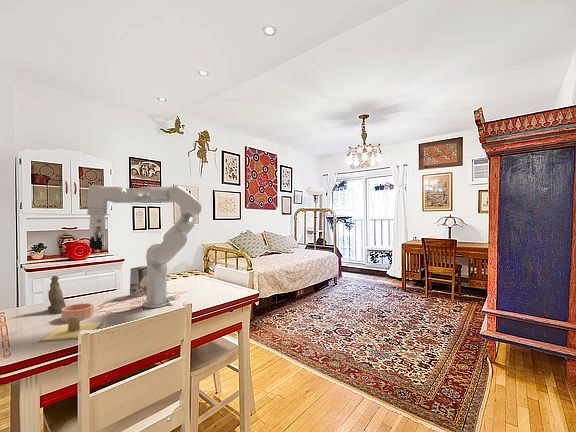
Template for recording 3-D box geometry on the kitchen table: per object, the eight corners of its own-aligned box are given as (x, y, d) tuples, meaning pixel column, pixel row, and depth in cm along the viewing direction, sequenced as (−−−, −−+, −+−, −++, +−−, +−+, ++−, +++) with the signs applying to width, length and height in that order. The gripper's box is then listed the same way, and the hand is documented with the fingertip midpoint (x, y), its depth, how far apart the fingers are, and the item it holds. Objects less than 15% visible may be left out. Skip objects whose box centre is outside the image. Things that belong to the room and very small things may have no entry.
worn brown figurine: (47, 315, 135) (44, 277, 138) (61, 311, 140) (58, 275, 142) (54, 315, 129) (51, 275, 131) (68, 311, 133) (66, 273, 135)
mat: (104, 323, 119) (104, 322, 119) (88, 339, 103) (88, 338, 103) (60, 327, 114) (60, 325, 114) (36, 344, 99) (36, 342, 99)
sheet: (101, 323, 117) (101, 310, 117) (86, 337, 104) (86, 322, 104) (62, 326, 114) (62, 312, 114) (41, 341, 100) (42, 325, 100)
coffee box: (139, 297, 159) (140, 269, 159) (129, 296, 160) (129, 268, 160) (149, 293, 168) (150, 266, 168) (140, 292, 169) (140, 266, 169)
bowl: (96, 313, 131) (97, 302, 131) (86, 321, 121) (86, 310, 121) (69, 315, 128) (69, 304, 129) (55, 323, 118) (56, 312, 118)
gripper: (111, 212, 126) (109, 250, 126) (102, 212, 138) (101, 247, 138) (91, 211, 121) (88, 251, 120) (84, 211, 133) (82, 247, 133)
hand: (95, 248), depth 129 cm, fingers open, 9 cm apart
